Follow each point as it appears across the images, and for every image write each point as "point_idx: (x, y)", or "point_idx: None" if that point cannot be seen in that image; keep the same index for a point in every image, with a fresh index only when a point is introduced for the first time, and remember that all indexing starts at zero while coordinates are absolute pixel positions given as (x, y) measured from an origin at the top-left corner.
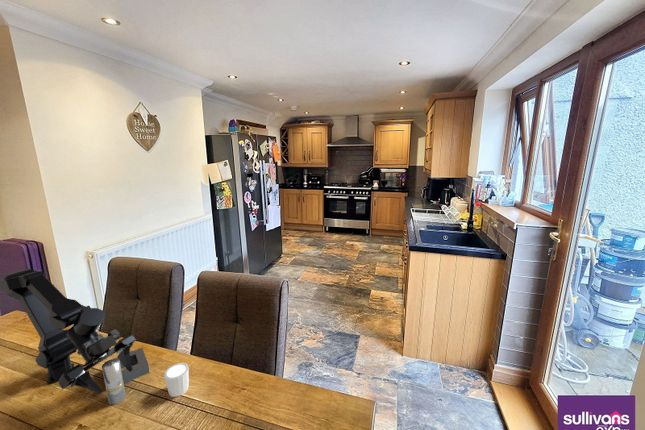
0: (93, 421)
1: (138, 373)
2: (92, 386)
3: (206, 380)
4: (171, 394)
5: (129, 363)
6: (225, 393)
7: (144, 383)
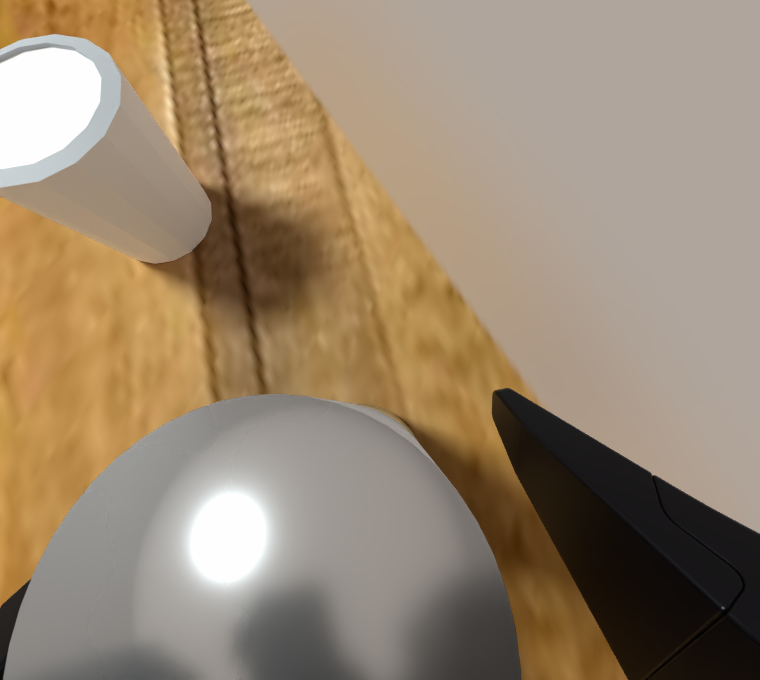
0: None
1: None
2: (622, 456)
3: None
4: (203, 196)
5: None
6: (98, 40)
7: None
